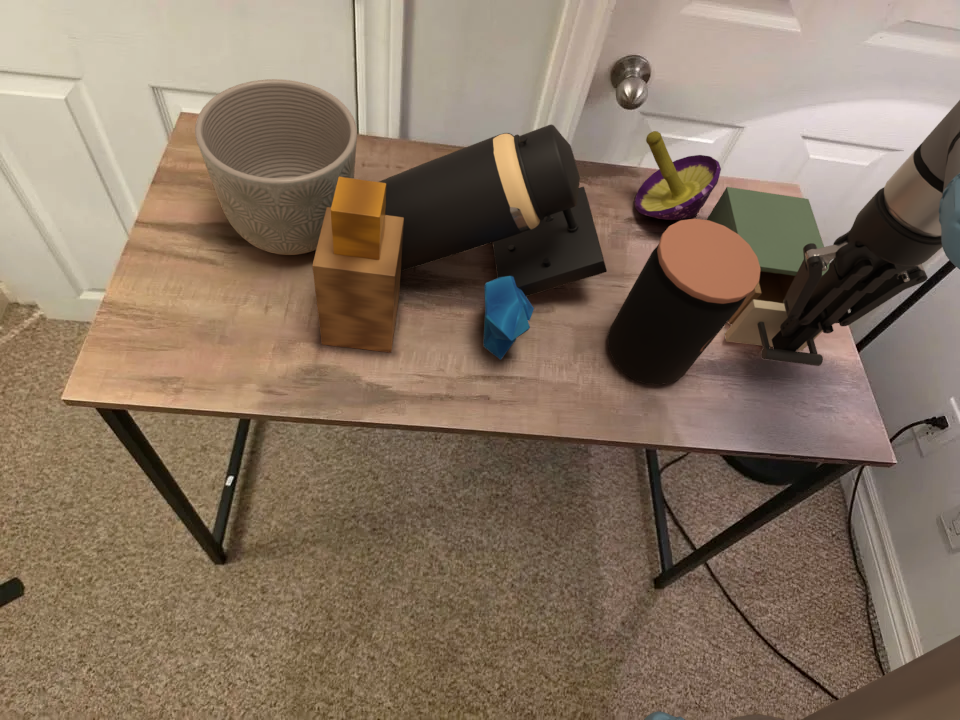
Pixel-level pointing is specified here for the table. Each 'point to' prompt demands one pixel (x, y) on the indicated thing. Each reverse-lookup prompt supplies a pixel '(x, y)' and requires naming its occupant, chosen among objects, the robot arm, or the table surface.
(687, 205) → the decorative mushroom
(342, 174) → the planter
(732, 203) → the cabinet
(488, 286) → the crystal
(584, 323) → the table surface
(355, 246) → the block
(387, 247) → the stand
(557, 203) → the light fixture
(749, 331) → the drawer
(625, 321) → the coffee jar
